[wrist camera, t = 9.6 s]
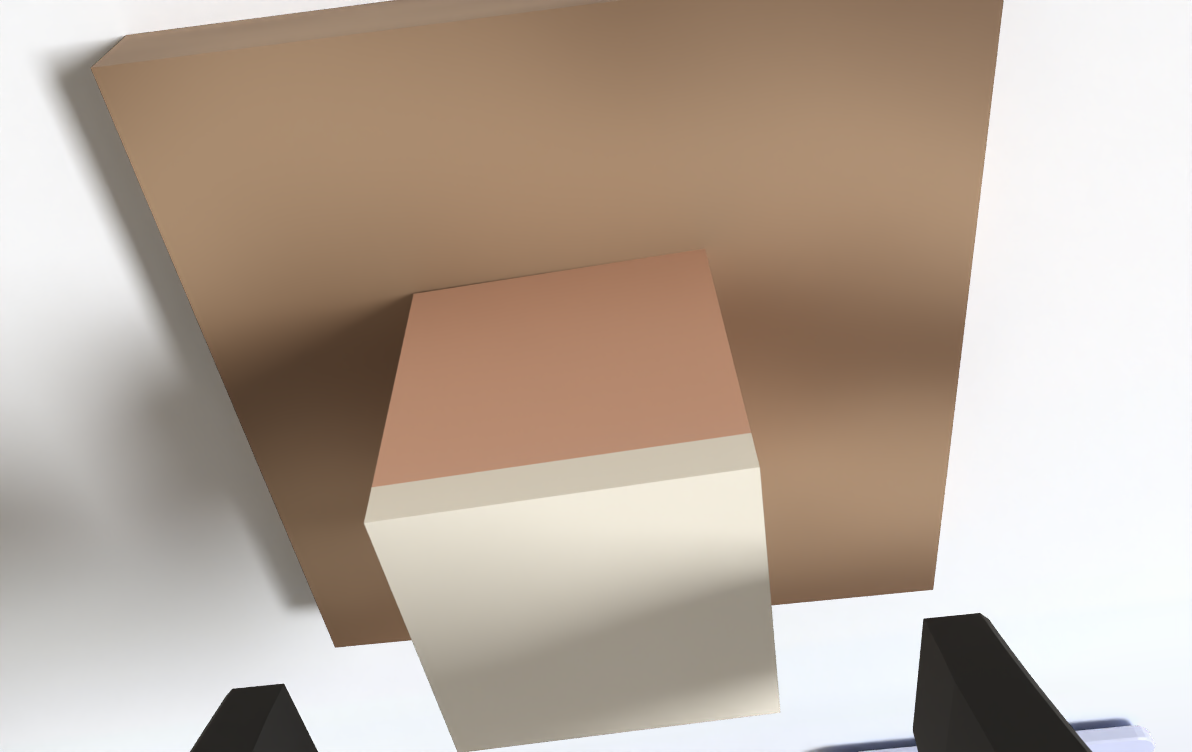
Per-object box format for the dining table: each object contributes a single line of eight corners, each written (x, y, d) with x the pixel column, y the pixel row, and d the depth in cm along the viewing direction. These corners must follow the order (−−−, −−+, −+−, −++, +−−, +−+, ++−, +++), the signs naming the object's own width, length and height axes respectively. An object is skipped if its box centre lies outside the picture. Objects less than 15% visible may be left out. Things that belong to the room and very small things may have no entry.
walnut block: (905, 518, 21) (933, 590, 20) (352, 573, 22) (334, 647, 20) (959, -85, 14) (1010, -50, 13) (142, 21, 15) (90, 67, 13)
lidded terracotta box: (729, 470, 18) (779, 712, 14) (479, 505, 18) (457, 752, 14) (704, 248, 15) (759, 466, 11) (413, 293, 15) (364, 523, 11)
